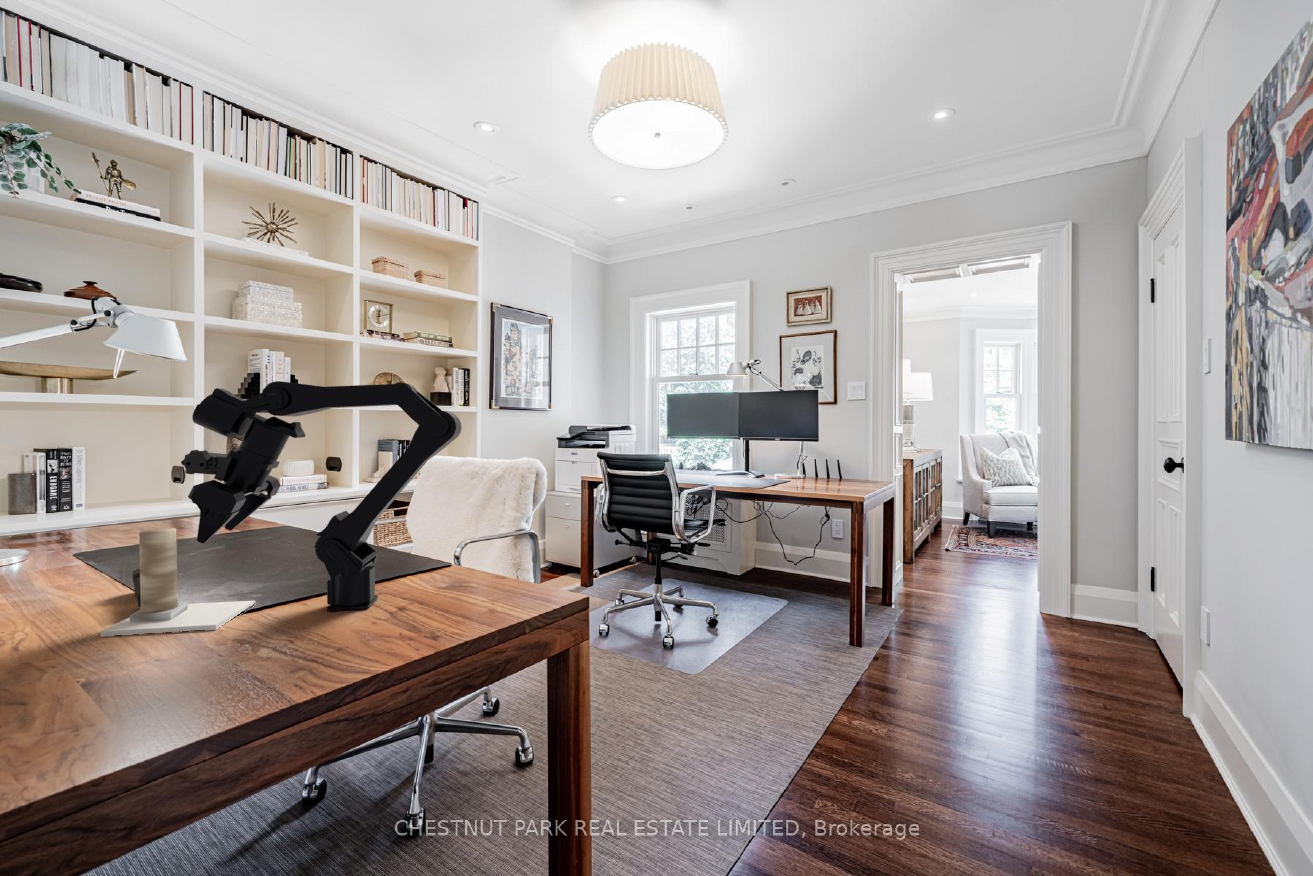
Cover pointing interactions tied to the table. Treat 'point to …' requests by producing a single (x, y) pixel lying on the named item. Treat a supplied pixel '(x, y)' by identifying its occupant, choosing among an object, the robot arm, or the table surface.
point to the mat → (184, 619)
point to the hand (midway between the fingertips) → (215, 535)
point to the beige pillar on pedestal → (158, 576)
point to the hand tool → (137, 585)
